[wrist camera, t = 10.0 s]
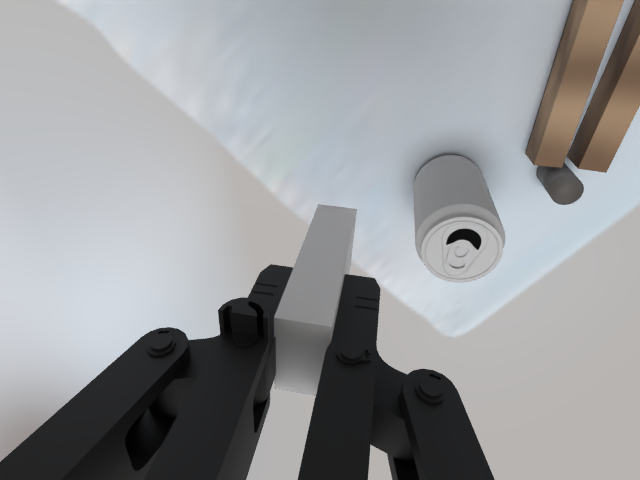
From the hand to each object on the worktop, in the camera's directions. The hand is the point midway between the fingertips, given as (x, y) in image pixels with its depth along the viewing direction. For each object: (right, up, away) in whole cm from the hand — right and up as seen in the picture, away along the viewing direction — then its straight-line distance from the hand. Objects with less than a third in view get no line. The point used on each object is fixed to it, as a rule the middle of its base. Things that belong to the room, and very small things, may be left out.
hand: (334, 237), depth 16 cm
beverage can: (+12, +5, +23) cm, 27 cm away
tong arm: (+19, +14, +16) cm, 28 cm away
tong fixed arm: (+22, +13, +16) cm, 30 cm away
